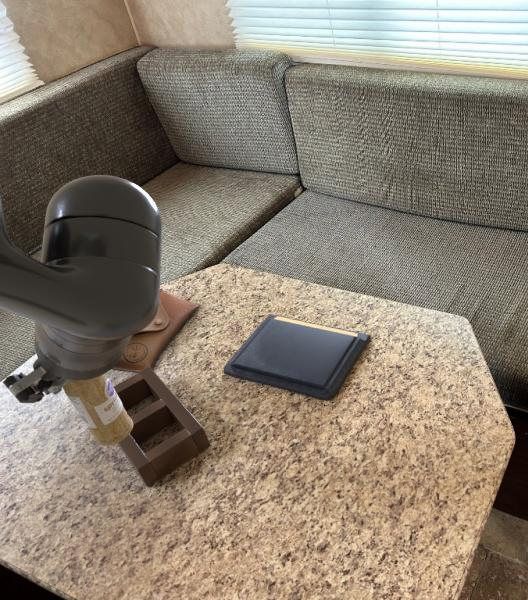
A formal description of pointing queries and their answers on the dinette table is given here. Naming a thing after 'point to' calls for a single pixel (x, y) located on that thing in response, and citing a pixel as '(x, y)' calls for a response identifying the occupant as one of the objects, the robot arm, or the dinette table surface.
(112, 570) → the dinette table surface
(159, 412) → the socket block
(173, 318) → the sunglasses case
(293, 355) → the wallet
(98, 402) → the sprinkles bottle
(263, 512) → the dinette table surface
